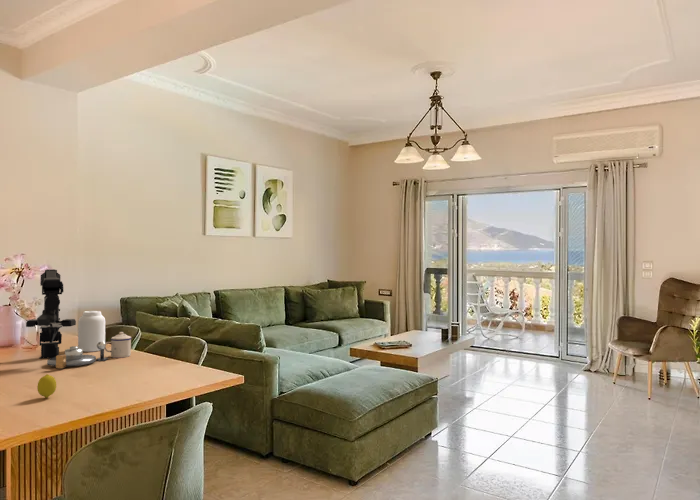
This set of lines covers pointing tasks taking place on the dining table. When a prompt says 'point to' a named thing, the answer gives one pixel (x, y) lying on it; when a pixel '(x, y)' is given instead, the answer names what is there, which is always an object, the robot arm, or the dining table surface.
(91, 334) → the white jar
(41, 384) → the lemon
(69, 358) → the cover
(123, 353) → the teacup with lid
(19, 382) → the dining table surface
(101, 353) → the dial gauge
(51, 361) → the platter
